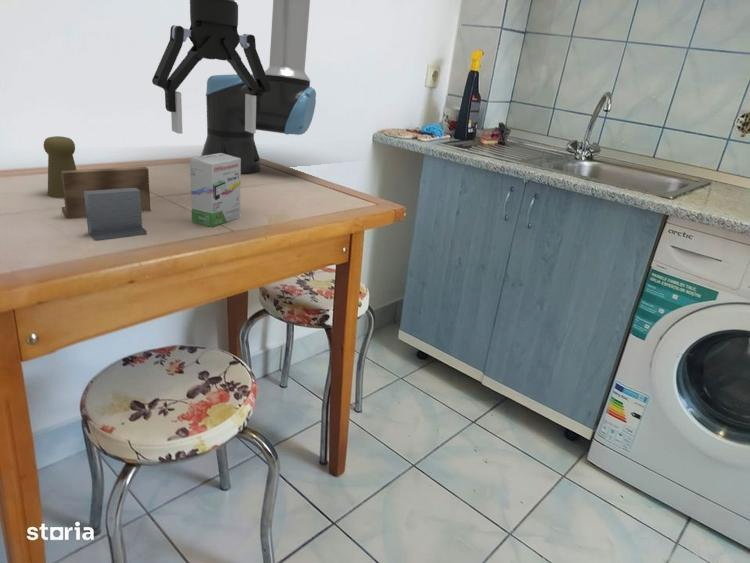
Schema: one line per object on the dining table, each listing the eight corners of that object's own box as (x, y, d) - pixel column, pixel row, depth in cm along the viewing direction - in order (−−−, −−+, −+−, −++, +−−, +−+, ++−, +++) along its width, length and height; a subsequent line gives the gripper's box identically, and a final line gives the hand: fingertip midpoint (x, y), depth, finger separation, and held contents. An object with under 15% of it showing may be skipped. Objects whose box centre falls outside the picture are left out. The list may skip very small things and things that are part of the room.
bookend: (138, 227, 93) (135, 187, 91) (146, 234, 91) (144, 193, 88) (88, 232, 89) (83, 191, 86) (95, 240, 86) (90, 197, 83)
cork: (74, 188, 110) (67, 133, 106) (88, 195, 107) (82, 139, 102) (42, 192, 106) (34, 134, 101) (55, 199, 102) (48, 140, 98)
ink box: (211, 228, 97) (210, 162, 93) (190, 222, 99) (188, 157, 94) (241, 217, 104) (242, 156, 100) (221, 212, 106) (220, 152, 102)
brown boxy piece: (142, 204, 105) (140, 163, 102) (150, 210, 102) (148, 168, 99) (62, 211, 97) (56, 166, 93) (68, 218, 94) (62, 172, 90)
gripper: (270, 7, 97) (267, 128, 105) (125, -16, 82) (134, 128, 90) (292, 8, 92) (287, 135, 100) (142, -16, 77) (150, 136, 85)
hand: (215, 132), depth 95 cm, fingers open, 13 cm apart
